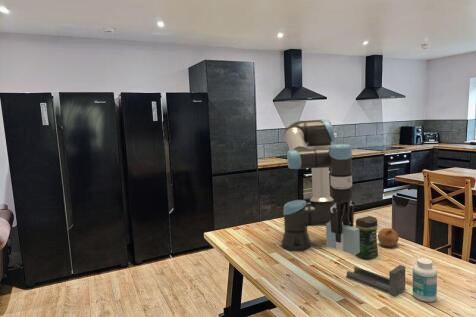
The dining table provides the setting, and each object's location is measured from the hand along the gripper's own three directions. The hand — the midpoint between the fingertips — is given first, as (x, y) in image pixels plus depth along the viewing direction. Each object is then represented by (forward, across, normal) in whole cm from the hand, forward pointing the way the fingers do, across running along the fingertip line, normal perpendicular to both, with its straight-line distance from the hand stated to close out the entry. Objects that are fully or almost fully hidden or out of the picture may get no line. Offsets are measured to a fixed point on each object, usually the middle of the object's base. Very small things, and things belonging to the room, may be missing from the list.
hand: (343, 248), depth 118 cm
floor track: (+16, +13, -5) cm, 21 cm away
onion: (+17, +52, +9) cm, 55 cm away
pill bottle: (+17, +16, -22) cm, 32 cm away
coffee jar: (+17, +34, +10) cm, 39 cm away
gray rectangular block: (0, 0, 0) cm, 0 cm away
